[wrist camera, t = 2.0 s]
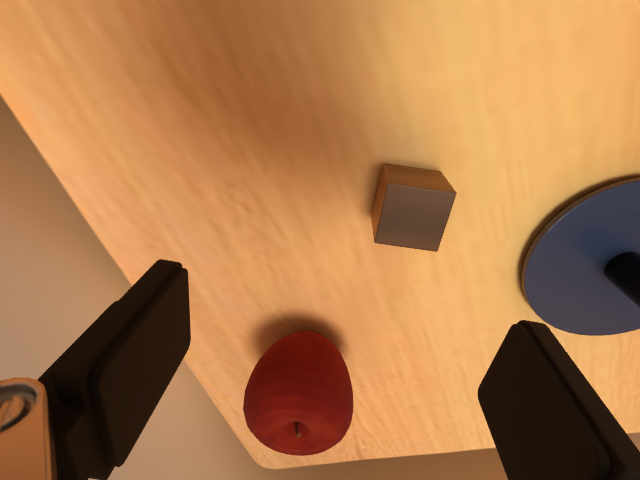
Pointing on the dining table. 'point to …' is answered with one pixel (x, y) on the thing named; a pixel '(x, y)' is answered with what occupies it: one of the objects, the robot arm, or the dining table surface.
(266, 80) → the dining table surface
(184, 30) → the dining table surface
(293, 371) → the apple
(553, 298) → the lid
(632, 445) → the robot arm
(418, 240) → the block
